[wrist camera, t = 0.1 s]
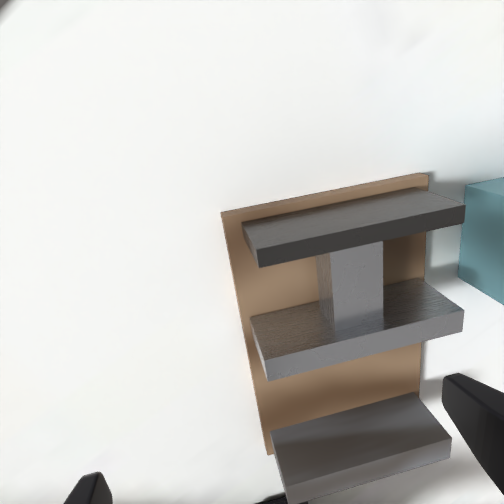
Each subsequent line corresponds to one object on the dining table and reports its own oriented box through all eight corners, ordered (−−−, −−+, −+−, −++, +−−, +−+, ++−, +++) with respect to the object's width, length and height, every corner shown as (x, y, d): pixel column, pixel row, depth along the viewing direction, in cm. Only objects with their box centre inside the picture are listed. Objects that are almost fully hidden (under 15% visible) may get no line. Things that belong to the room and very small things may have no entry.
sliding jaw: (417, 296, 26) (462, 331, 22) (252, 336, 24) (267, 382, 20) (421, 185, 23) (474, 202, 19) (232, 223, 21) (245, 251, 17)
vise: (411, 403, 31) (455, 460, 26) (264, 444, 30) (282, 513, 25) (418, 172, 24) (484, 191, 18) (220, 212, 22) (233, 244, 17)
